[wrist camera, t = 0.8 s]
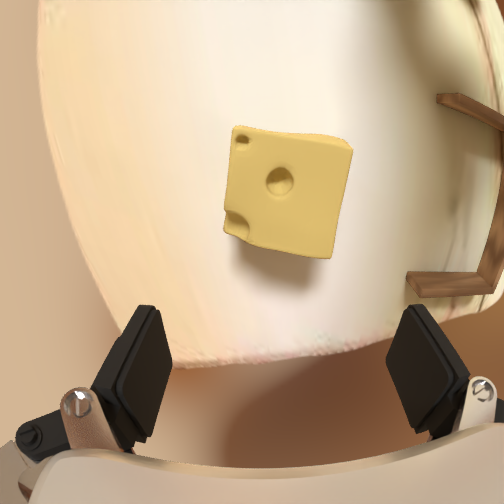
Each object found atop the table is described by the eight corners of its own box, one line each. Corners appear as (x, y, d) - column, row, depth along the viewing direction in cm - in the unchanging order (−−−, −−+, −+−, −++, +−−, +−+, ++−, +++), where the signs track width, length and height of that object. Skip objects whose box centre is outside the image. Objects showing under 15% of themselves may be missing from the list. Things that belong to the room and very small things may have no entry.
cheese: (227, 211, 33) (214, 247, 24) (239, 120, 28) (229, 118, 19) (313, 224, 33) (332, 263, 24) (331, 136, 28) (362, 143, 19)
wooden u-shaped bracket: (437, 94, 24) (459, 93, 20) (510, 129, 24) (531, 133, 19) (405, 278, 36) (420, 297, 31) (478, 278, 36) (493, 293, 31)
